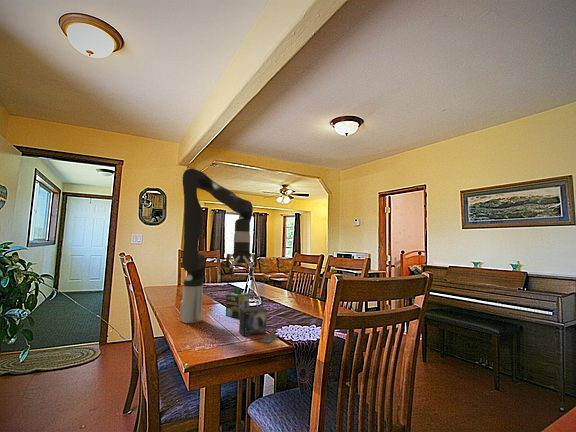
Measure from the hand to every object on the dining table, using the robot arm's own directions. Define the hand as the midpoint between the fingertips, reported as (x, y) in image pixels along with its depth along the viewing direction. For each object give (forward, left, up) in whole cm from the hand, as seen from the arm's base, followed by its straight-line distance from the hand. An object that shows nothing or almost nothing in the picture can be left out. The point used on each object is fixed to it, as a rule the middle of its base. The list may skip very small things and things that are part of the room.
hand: (241, 276), depth 143 cm
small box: (+9, -4, -24) cm, 26 cm away
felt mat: (+19, -8, -24) cm, 31 cm away
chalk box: (-12, +20, -24) cm, 33 cm away
